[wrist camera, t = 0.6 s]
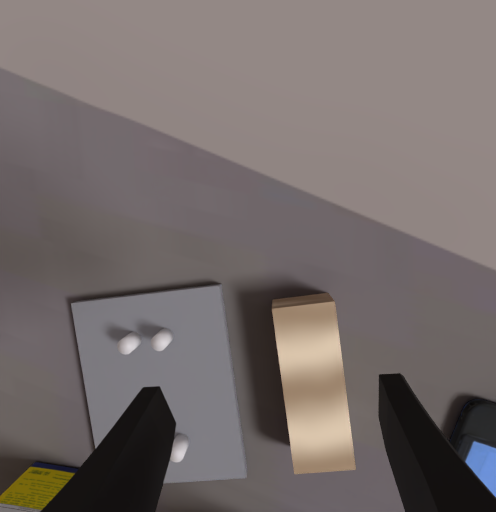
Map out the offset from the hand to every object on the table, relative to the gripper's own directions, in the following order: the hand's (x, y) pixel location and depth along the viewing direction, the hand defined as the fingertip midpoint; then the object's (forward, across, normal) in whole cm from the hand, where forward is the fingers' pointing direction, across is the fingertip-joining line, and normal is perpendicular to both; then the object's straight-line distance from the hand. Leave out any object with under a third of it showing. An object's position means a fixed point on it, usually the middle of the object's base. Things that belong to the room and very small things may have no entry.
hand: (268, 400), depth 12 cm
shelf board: (+15, -1, +16) cm, 22 cm away
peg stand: (+14, +13, +16) cm, 25 cm away
